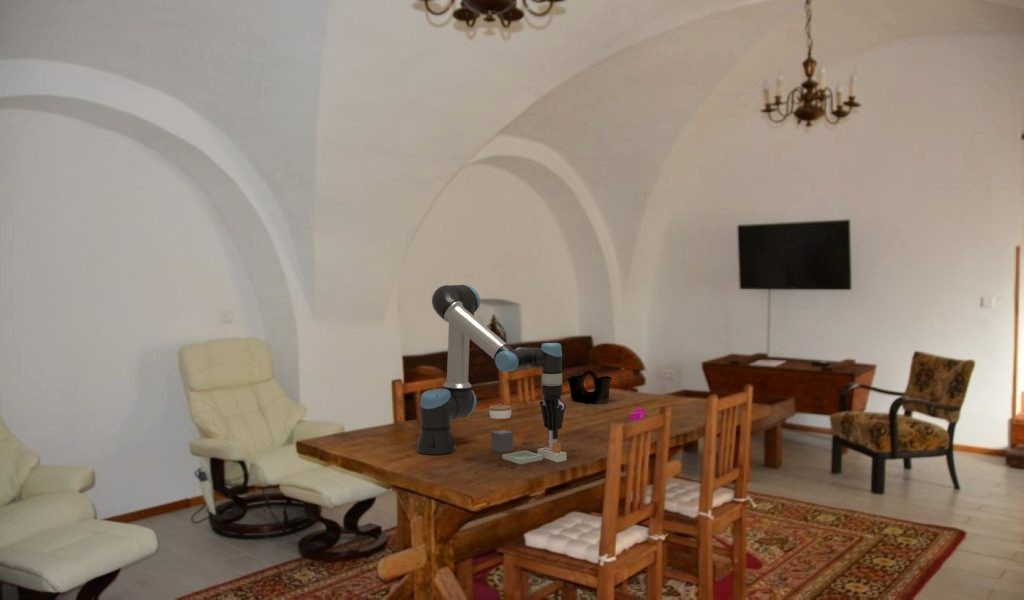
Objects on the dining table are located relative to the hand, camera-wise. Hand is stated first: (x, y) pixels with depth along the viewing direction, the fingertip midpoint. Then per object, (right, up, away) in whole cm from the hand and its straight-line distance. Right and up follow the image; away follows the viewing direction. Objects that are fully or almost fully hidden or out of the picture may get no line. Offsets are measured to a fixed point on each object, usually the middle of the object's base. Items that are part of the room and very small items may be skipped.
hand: (553, 447), depth 292 cm
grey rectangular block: (-19, -5, +13) cm, 24 cm away
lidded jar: (-21, -3, +77) cm, 80 cm away
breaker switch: (+1, -1, -2) cm, 2 cm away
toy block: (+43, -3, +62) cm, 75 cm away
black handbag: (+25, -2, +113) cm, 116 cm away
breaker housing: (0, -5, +1) cm, 5 cm away
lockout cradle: (-11, -5, -1) cm, 12 cm away
